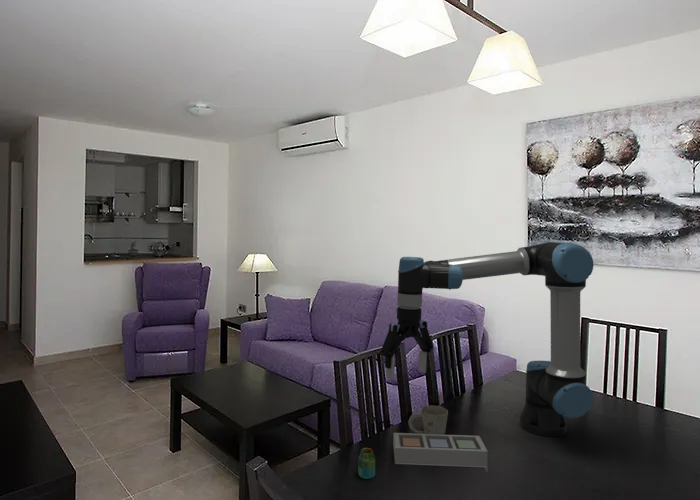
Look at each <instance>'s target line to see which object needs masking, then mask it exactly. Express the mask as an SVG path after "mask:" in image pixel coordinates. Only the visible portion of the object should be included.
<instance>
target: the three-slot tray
mask: <svg viewBox="0 0 700 500" xmlns="http://www.w3.org/2000/svg"><path fill="white" fill-rule="evenodd" d="M402 438H417V439H419V441H420V445H421V447H402ZM429 439H443V440H446V441H447V444H448V447H449V448H429ZM392 440H393V442H392V447H393V448H392V449H393V457H394V464H395V465H414V466H415V465H416V466H417V465H419V466H439V467H443V466H444V467H466V468H467V467H469V468H484V470H485V472H486V473H488V472H489V471H488V470H489V468H488V467H489V466H488V455H489V454H488V453H489V451H488V449H487V448H486V446H485V444H484V442H483V440H482V438H481V435H468V434H464V435H463V434H445V435H441V434H418V433H415V432H414V433H412V432H411V433H409V432H408V433H406V432H393V439H392ZM456 440H470V441H473V442H474V444H475V446H476V448H477V449H457V448H456Z"/></svg>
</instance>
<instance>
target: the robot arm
mask: <svg viewBox="0 0 700 500" xmlns="http://www.w3.org/2000/svg"><path fill="white" fill-rule="evenodd" d="M398 265H399V266H398V270H397V273H398V274H397V275H398V279H397V304H396V305H397V308H396V319H397V324H395V323H394V324H393V323H389V326H388V333H387V335H386V337H385V339H384V342H383V344H382V346H381V350H380V351H379V355H380V356H382V357H385V359H384V361H385V362H384V367H385V378H386V379H389V380H390V381H391V380H392V381H395V361H396V360H395V357H394V355H395V354H396V352H397V350H398V349H399V348H400V346H401V345H402V342H404V341H405V340H406V339H409V338H414V341H415V342H416V344H417V345H418V347H419V348H420V350H419V351H418V371H417V372H421V373H424V374H425V373H427V363H428V360H429V353H431V352H432V350H433V349H434V345H433V342H432V339H431V335H430V332H429V330H428V321H426V320H422V308H421V307H422V306H423V289H438V290H441V289H442V290H450V291H451V290H459V289H460V288H461V287H462V285H463V281H464V280H465V281H467V280H473V279H481V278H490V277H491V278H492V277H500V276H506V275H507V276H508V275H513V274H515V275H516V274H521V275H522V276H531V275H532V276H541V277H542V276H543V277H544V278H545V279H544V281H545V283H544V284H545V287H546V288H547V289H549V291H550V298H549V299H550V301H549V302H550V360H532V361H529V362H528V363H526V370H525V373H526V374H525V376H526V377H525V404H524V406H523V408H522V411H521V414H520V415H519V422H518V423H519V426H520V427H521V428H522V429H524V431H527V432H529V433H533V434H535V435H538V436H544V437H560V436H563V435H565V434H566V433H567V422H566V419H565V418H569V419H577V418H580V417H583V416H584V415H585V414H587V412H589V411H590V409H592V406H593V404H594V394H593V392H592V390H591V389H590V387H589V386H588V385H587V375H586V371H585V370H584V369H583V368H582V367H581V292H582V291H583V290H584V289H585V288H586V287H587V280H588V278H589V277H590V276H591V275H592V274H593V270H594V260H593V256H592V255H591V253H590V251H588V249H587V248H585V247H584V246H582V245H580V244H578V243H577V244H576V243H573V242H554V241H549V242H544V243H543V242H542V243H539V244H535V245H529V246H528V245H527V246H524V247H523V246H521V247H519V248H517V250H516V251H515V250H514V251H506V252H499V253H498V252H497V253H489V254H483V255H482V254H481V255H473V256H467V257H466V256H465V257H458V258H450V259H442V260H435V261H434V260H426V261H425V260H424V258H423V257H420V256H402V257H400V259H399V264H398Z"/></svg>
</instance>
